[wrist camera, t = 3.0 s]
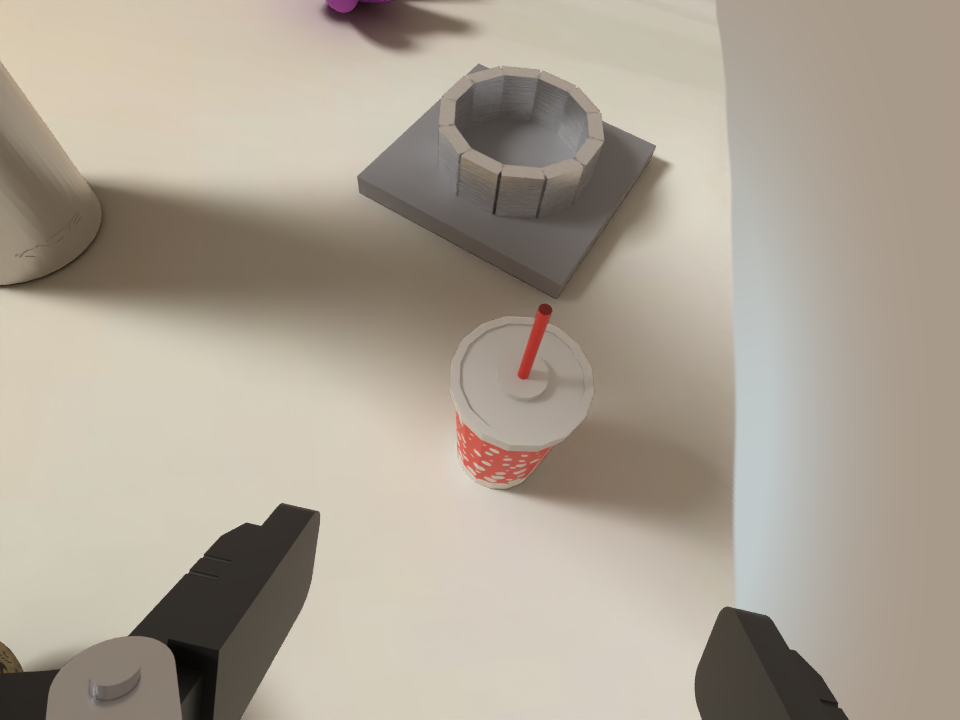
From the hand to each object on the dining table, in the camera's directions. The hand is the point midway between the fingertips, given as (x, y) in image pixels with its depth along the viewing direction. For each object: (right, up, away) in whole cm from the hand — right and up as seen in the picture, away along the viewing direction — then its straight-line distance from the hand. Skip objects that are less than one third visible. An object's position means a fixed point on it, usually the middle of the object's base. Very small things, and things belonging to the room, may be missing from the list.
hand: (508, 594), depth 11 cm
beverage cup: (0, -1, +20) cm, 20 cm away
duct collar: (+2, +19, +29) cm, 35 cm away
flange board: (+2, +18, +30) cm, 36 cm away
